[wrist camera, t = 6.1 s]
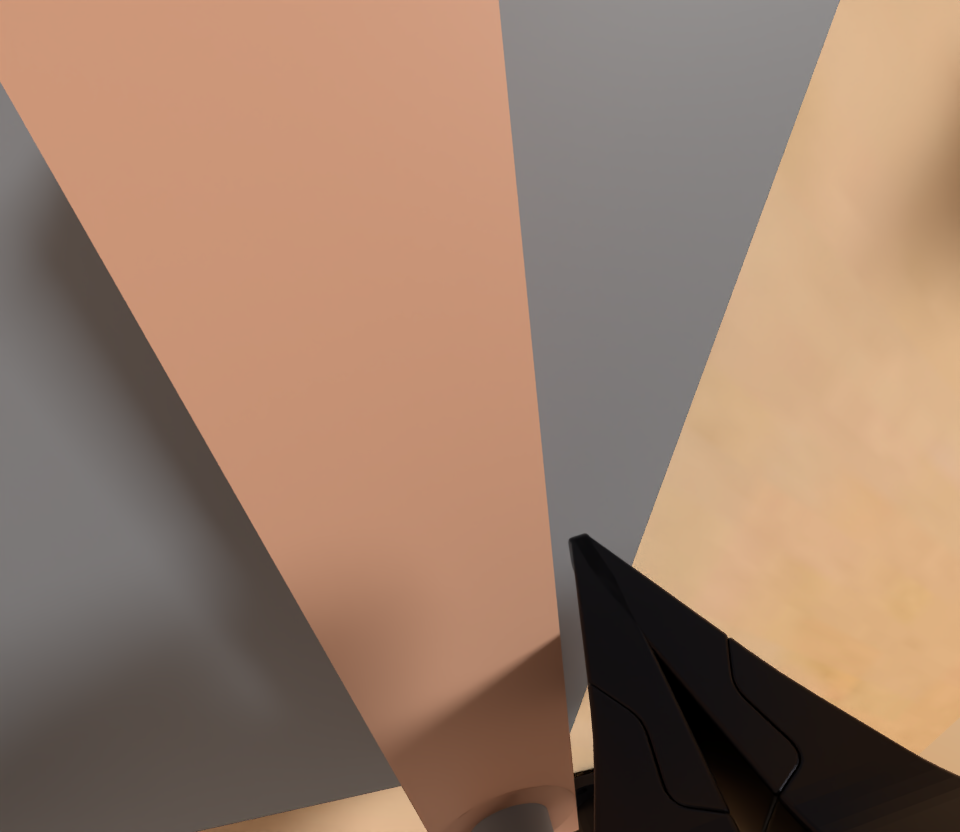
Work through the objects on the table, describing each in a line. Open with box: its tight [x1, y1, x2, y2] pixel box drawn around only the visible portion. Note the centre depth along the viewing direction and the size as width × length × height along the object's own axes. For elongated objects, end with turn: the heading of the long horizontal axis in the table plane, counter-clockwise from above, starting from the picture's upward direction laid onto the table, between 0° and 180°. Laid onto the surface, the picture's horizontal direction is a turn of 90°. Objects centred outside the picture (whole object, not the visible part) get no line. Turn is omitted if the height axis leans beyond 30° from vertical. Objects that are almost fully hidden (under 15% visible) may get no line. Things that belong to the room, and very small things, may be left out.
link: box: [0, 0, 579, 832], centre depth 8 cm, size 18×4×4 cm, turn 9°
